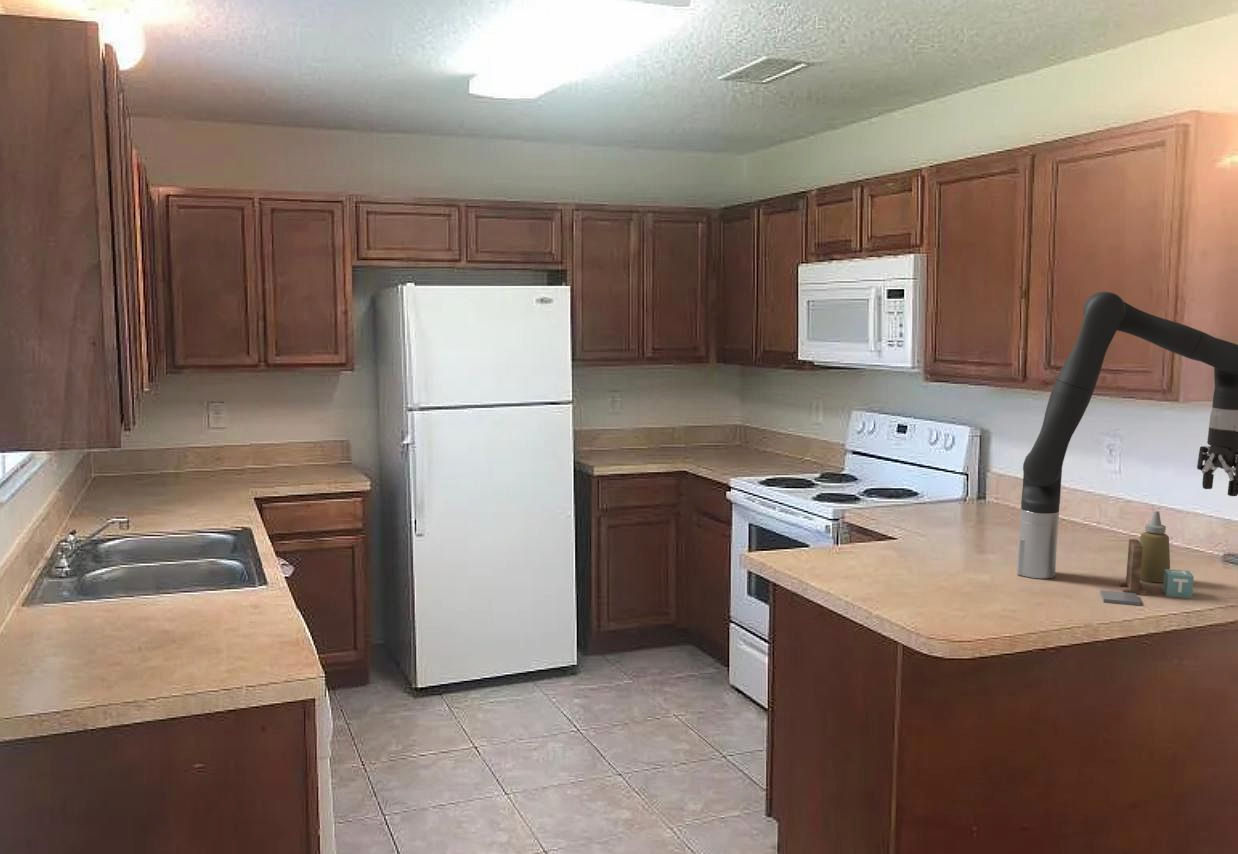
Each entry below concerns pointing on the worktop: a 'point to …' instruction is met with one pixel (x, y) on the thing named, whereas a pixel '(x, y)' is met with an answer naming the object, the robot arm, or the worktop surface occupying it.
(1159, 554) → the squeeze bottle
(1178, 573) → the cube
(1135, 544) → the screen
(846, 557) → the worktop surface
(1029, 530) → the robot arm
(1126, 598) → the coaster
